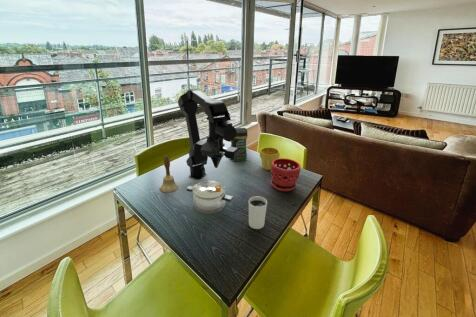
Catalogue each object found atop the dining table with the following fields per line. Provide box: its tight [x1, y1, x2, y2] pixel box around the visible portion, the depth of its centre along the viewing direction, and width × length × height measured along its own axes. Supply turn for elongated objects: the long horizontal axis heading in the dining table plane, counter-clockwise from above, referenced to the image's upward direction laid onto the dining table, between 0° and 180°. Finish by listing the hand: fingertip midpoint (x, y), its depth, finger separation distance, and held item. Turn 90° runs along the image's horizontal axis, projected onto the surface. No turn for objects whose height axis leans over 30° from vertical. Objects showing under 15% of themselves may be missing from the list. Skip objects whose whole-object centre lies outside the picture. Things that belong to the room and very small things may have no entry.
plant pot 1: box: [259, 146, 281, 171], centre depth 135 cm, size 10×10×10 cm
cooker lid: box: [192, 180, 226, 199], centre depth 102 cm, size 13×13×2 cm
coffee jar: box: [230, 127, 249, 162], centre depth 143 cm, size 10×8×19 cm
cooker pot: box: [185, 185, 234, 215], centre depth 105 cm, size 20×14×6 cm
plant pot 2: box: [270, 157, 302, 192], centre depth 117 cm, size 13×13×12 cm
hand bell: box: [159, 155, 179, 193], centre depth 114 cm, size 8×8×16 cm
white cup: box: [248, 195, 268, 230], centre depth 93 cm, size 7×7×10 cm
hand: (216, 167), depth 108 cm, fingers closed
